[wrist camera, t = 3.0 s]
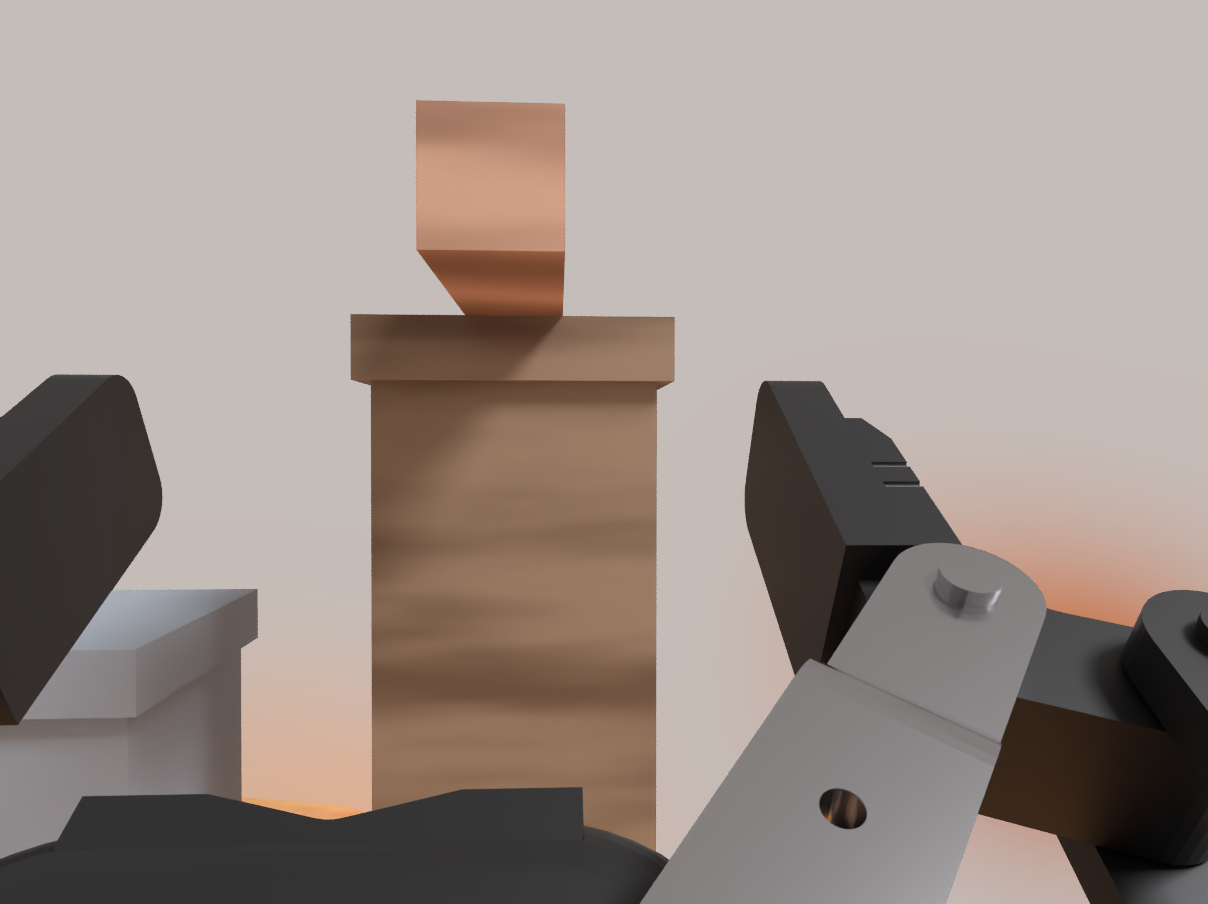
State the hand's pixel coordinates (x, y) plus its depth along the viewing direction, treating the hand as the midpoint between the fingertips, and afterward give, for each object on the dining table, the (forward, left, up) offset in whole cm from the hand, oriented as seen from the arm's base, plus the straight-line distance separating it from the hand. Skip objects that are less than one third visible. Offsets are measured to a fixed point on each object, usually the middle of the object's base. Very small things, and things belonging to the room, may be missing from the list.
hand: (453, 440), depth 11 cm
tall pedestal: (-8, +19, -28) cm, 35 cm away
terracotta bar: (-7, +16, +4) cm, 18 cm away
